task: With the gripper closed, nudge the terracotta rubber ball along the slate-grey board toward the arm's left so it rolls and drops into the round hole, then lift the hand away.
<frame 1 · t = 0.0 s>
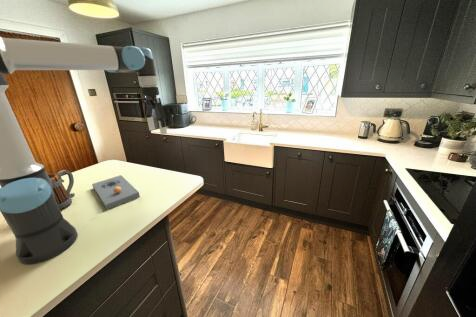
hand: (157, 132, 98), 28 cm above the countertop, fingers open, 13 cm apart
mug: (63, 204, 92), on the countertop
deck: (115, 192, 100), on the countertop
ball: (117, 189, 93), point 4 cm above the countertop, touching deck
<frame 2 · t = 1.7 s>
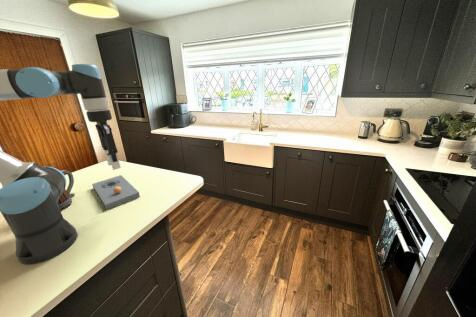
hand: (114, 166, 82), 19 cm above the countertop, fingers open, 6 cm apart
nothing on the countertop moved.
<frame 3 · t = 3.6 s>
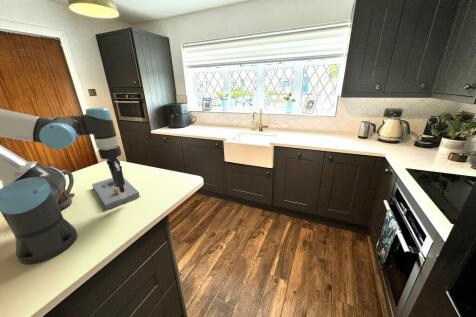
hand: (123, 197, 88), 4 cm above the countertop, fingers closed
nothing on the countertop moved.
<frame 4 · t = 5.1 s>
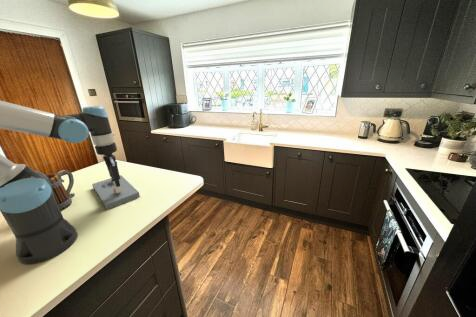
hand: (119, 191, 92), 4 cm above the countertop, fingers closed
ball: (117, 189, 94), point 4 cm above the countertop, tilted 7°, touching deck
everything else where it was.
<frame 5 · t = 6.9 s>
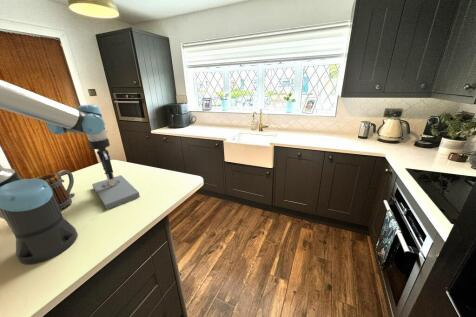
hand: (112, 183, 100), 4 cm above the countertop, fingers closed
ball: (111, 185, 103), point 2 cm above the countertop, tilted 154°
everything else where it was.
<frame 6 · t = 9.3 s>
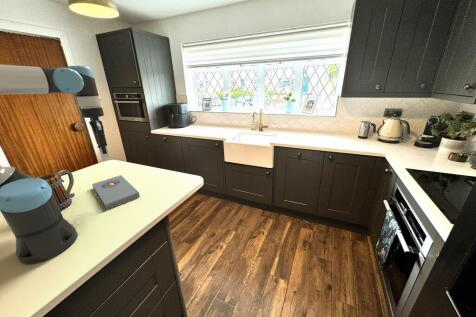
hand: (106, 160, 90), 19 cm above the countertop, fingers closed
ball: (111, 185, 103), point 2 cm above the countertop, tilted 122°
everything else where it was.
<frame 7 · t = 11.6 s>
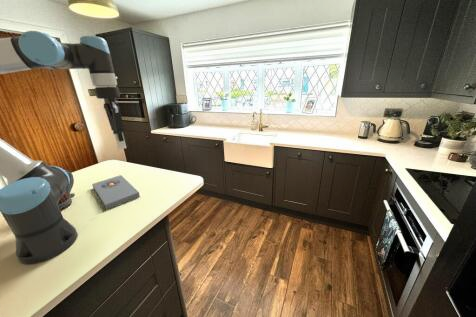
hand: (122, 148, 80), 26 cm above the countertop, fingers closed
nothing on the countertop moved.
at the end: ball 0.5 cm from the target spot in the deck, point 1.6 cm above the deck's base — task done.
